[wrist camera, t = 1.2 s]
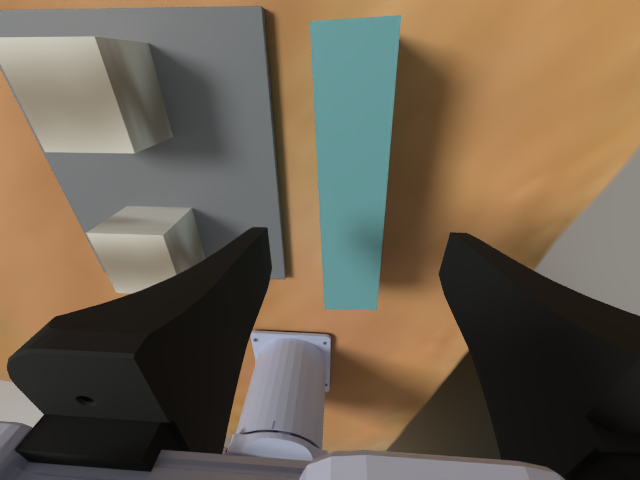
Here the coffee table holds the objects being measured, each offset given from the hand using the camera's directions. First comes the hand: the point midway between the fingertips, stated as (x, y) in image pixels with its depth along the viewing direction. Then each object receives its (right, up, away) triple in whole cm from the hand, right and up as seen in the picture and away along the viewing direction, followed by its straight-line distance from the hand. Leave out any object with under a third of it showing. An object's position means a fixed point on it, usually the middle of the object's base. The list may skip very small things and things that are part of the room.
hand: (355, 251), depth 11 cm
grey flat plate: (-12, +5, +9) cm, 16 cm away
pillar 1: (-13, +9, +6) cm, 17 cm away
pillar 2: (-13, +1, +11) cm, 17 cm away
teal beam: (+1, +5, +8) cm, 10 cm away
